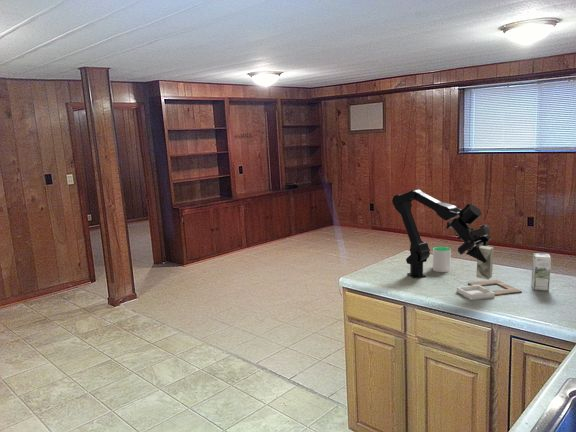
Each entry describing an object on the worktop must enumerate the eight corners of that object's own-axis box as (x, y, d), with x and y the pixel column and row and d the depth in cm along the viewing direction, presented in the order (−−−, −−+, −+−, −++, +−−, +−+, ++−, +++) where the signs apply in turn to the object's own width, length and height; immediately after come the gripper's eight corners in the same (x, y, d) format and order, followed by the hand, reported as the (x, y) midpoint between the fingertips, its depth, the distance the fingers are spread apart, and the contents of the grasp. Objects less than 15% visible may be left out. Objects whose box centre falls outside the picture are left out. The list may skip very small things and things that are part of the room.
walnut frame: (467, 284, 200) (467, 282, 200) (496, 281, 203) (496, 279, 202) (490, 296, 185) (490, 294, 184) (521, 292, 187) (521, 291, 187)
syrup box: (546, 287, 193) (548, 253, 190) (549, 291, 187) (551, 256, 185) (531, 286, 195) (532, 252, 192) (533, 290, 189) (535, 256, 187)
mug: (428, 265, 231) (429, 245, 229) (445, 265, 230) (445, 244, 228) (435, 272, 219) (435, 251, 217) (452, 272, 218) (453, 250, 217)
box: (475, 277, 189) (476, 247, 187) (480, 275, 193) (480, 245, 190) (489, 280, 186) (490, 249, 183) (493, 277, 189) (494, 246, 187)
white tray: (456, 292, 190) (456, 287, 190) (479, 289, 192) (479, 284, 192) (470, 300, 181) (471, 295, 180) (494, 297, 182) (494, 292, 182)
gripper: (466, 222, 182) (492, 254, 175) (487, 215, 194) (513, 245, 188) (447, 238, 189) (471, 270, 183) (469, 231, 201) (493, 260, 195)
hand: (488, 261), depth 187 cm, fingers closed on box, 4 cm apart
